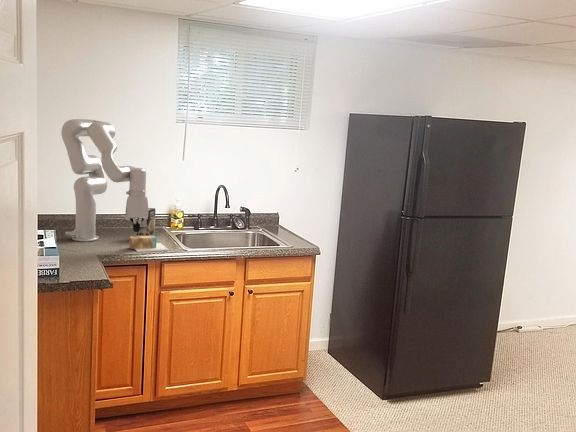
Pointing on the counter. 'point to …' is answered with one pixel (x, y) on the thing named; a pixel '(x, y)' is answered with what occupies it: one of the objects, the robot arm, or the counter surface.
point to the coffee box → (148, 224)
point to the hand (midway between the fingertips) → (136, 231)
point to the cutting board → (158, 248)
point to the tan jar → (142, 242)
